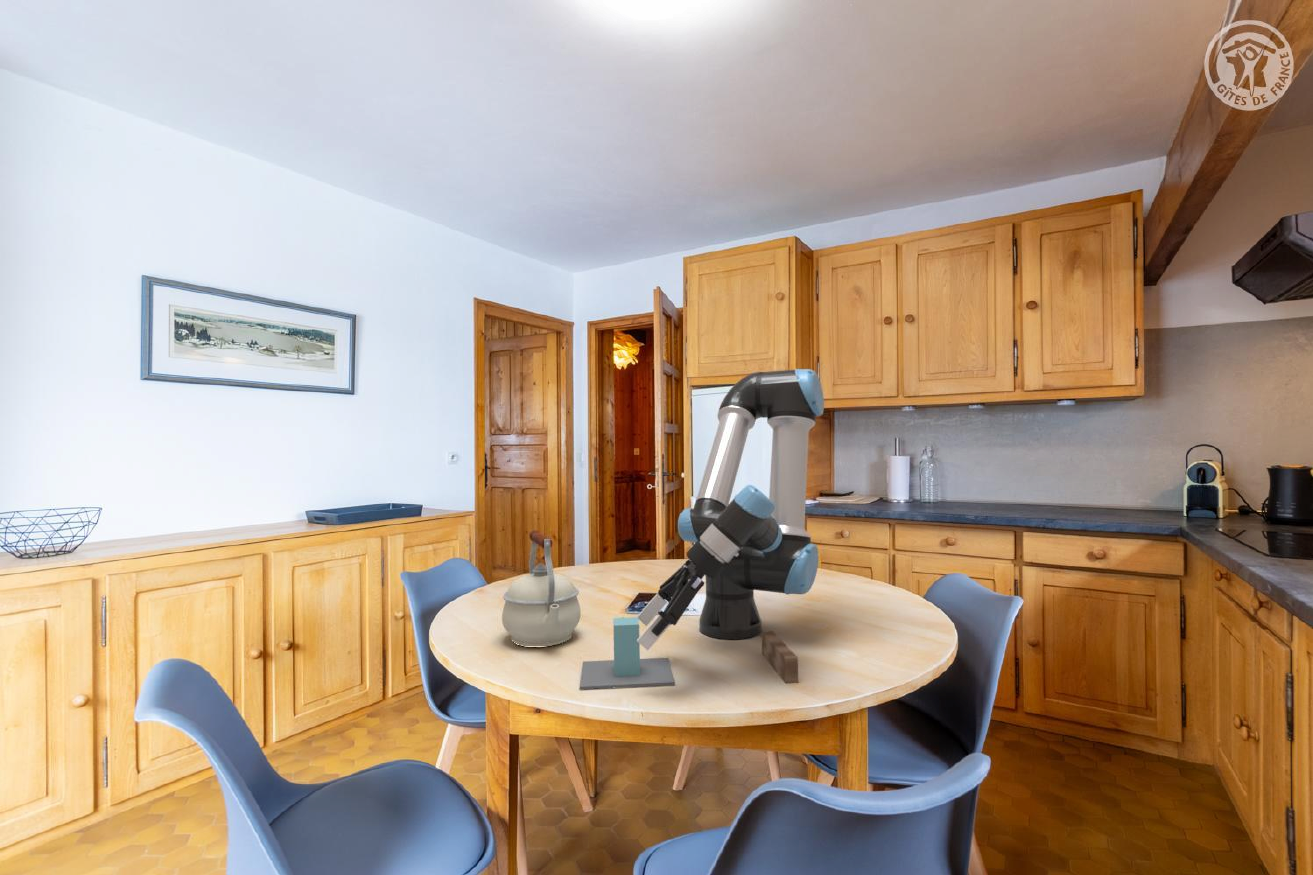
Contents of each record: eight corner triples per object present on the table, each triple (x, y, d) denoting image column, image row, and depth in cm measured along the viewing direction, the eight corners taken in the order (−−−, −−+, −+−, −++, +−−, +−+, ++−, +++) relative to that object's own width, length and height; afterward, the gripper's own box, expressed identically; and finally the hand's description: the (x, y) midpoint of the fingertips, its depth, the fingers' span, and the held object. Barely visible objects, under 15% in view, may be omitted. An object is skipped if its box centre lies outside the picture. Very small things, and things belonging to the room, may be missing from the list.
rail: (762, 654, 130) (761, 631, 130) (772, 654, 130) (772, 631, 130) (785, 684, 114) (785, 658, 114) (798, 683, 114) (797, 657, 114)
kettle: (496, 630, 149) (494, 530, 149) (567, 620, 156) (566, 525, 156) (513, 664, 126) (511, 546, 126) (597, 651, 133) (595, 539, 133)
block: (614, 667, 122) (613, 618, 122) (638, 665, 122) (637, 617, 122) (614, 676, 117) (613, 625, 117) (640, 675, 117) (639, 624, 117)
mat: (582, 664, 125) (582, 661, 125) (668, 660, 127) (668, 657, 127) (579, 689, 112) (579, 686, 112) (674, 685, 114) (674, 682, 114)
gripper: (736, 580, 107) (658, 670, 107) (717, 551, 132) (654, 624, 131) (705, 553, 106) (626, 643, 106) (692, 529, 131) (628, 601, 131)
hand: (641, 632), depth 119 cm, fingers open, 13 cm apart
